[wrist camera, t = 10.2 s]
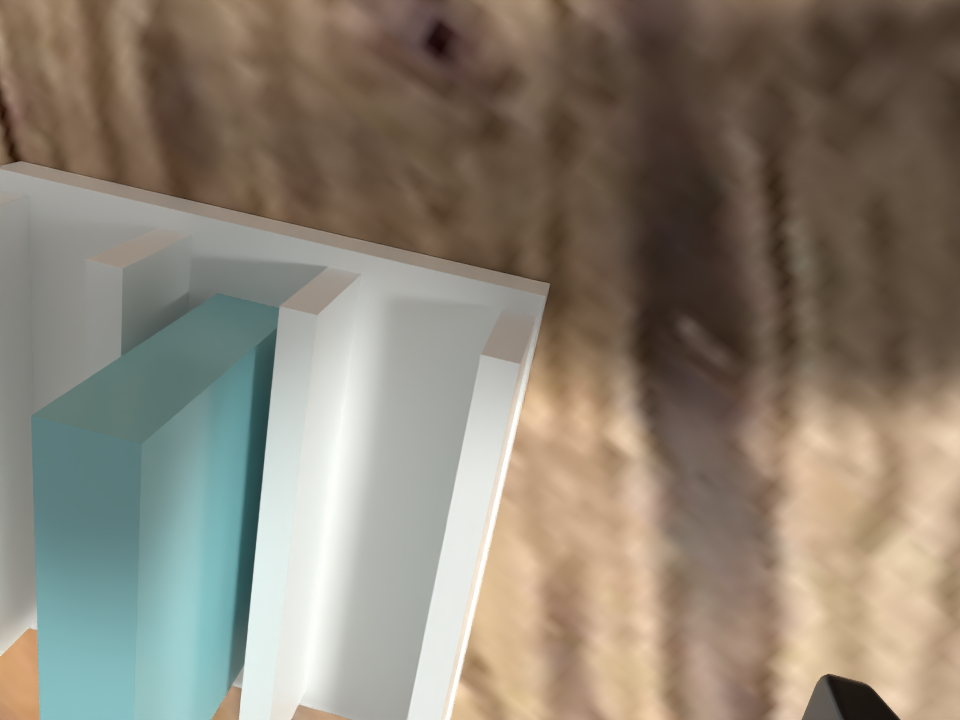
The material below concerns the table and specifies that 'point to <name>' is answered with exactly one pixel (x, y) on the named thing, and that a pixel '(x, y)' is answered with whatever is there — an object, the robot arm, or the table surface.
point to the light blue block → (153, 520)
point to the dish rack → (290, 423)
